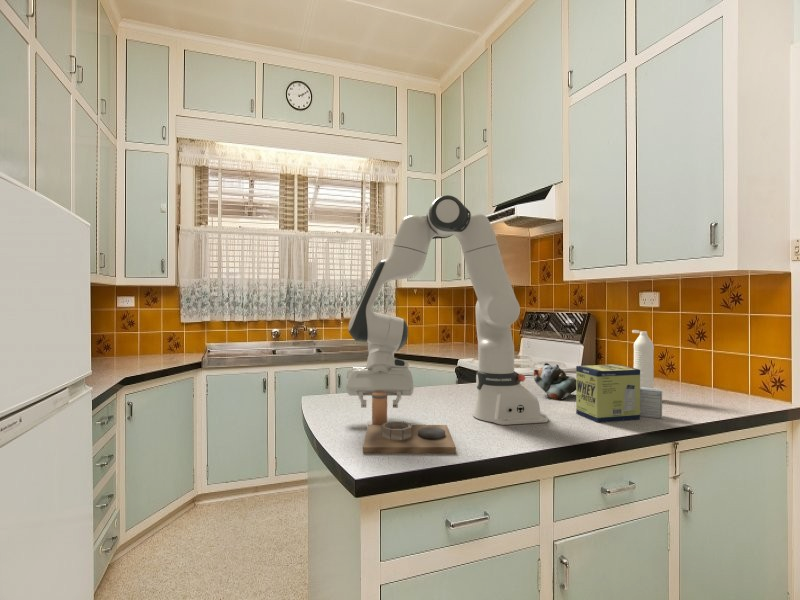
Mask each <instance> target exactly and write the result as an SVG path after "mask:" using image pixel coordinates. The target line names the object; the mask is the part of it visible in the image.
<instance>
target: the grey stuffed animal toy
mask: <svg viewBox="0 0 800 600" xmlns="http://www.w3.org/2000/svg"><path fill="white" fill-rule="evenodd" d="M543 364H544V365H543V366H541V367H540V369H534V370H533V381H534V383H536V385H537V386H538V387H540V389H542V391H544V393H546V394H547V395H548V397H549V398H551V399H552V400H558V401H562V400H563V399H565V398H567V397H569V396H570V395H571V394H573V393H574V392H576V377H574V376H571V375H567V373H566V372H565V371H564V370H563V369H561V368H560V365H559V364H556V363H555V364H554V365H551V364H549V363H547V362H545V363H543Z"/></svg>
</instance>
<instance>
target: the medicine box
mask: <svg viewBox="0 0 800 600" xmlns="http://www.w3.org/2000/svg"><path fill="white" fill-rule="evenodd" d="M640 417H644V418H655V419H663V391H662V389H661V388H659V387H653V388H649V387H640Z"/></svg>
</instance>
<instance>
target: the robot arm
mask: <svg viewBox="0 0 800 600" xmlns="http://www.w3.org/2000/svg"><path fill="white" fill-rule="evenodd" d="M452 236H454V237H456V238H457V239H458V241H459V243H460V245H461V246H460V247H461V249H462V254H463V257H464V262H465V266H466V269H467V272H468V277H469V280H470V282H471V284H472V287H473V290H474V292H475V295H476V298H477V300H476V302H475V303H476V304H475V309H474V310H475V326H476V327H475V328H476V338H477V366H478V367H477V370H476V376H475V380H476V381H475V382H476V383H475V385H476V390H477V391H476V398H475V404H474V410H473V412H472V416H473V417H474V418H476V419H478V420H481V421H485V422H488V423H489V422H491V423H493V424H494V423H495V424H497V425H502V426H505V425H508V426H509V425H522V424H537V423H538V424H539V423H547V422H549V416H548V415H547V414H546V413H545V412H544V411H542V410H541V407H540V402H539V400H538V398H537V397H536V395H535V394H534V393H532V392H531V391H530V390H528V388H526V387H525V386H524V385H522V384H521V382H522V383H523V382H525V381H526V379H527V378H526V376H525V375H524V374H522V373H521V374H520V373H519V372H517V371H515V344H514V339H513V335H512V333H513V332H512V327H511V325H513V324H514V323H516V321H517V320H518V318H519V316H520V313H521V307H520V303H519V301H518V299H517V297H516V295H515V292H514V289H513V286H512V284H511V281H510V279H509V277H508V275H507V271H506V269H505V266H504V262H503V258H502V254H501V250H500V248H499V244H498V243H499V242H498V240H497V239H498V238H497V237H496V234H495V231H494V228H493V226H492V224H491V222H490V220H489V218H488V217H487V216H486V215H484V214H482V213H473V214H472V213H471V211H470V210H469V208H467V207H466V206H465V205H464V204H463V202H462V201H460V200H459V199H458V198H457V197H455V196H453V195H449V194H448V195H441V196H438V197H437V198H436V199H434V200H433V201H432V203H431V204H430V206H429V209H428V212H427V213H426V214H425V215H421V216H420V215H417V214H410V215H406V216H405V217H404V218H403V219H401V222H400V225H399V227H398V229H397V232H396V235H395V237H394V240H393V244H392V247H391V248H392V249H391V251H390V253H389V254H388V256H387V257H386V258H385V259H382V260H379V261H378V263H377V264H376V266H375V268H374V269H373V271H372V273H371V276H370V277H369V280H368V282H367V284H366V285H365V286H366V287H365V288H364V291H363V293H362V296H361V298H360V299H359V302H358V304H357V307H356V309H355V310H354V312H353V314H352V316H351V318H350V319H349V322H348V330H347V331H348V333H349V335H350V336H351V337H352V339H353V340H355V342H361V343H368V344H367V351H368V356H367V358H366V359H367V360H366V367H352V368H350V369H348V370H347V372H346V379H347V383H346V389H345V390H346V393H347V394H348V396H351V397H352V396H353V397H354V396H356V397H358V400H359V401H360V407H361V408H363V409H365V408H367V404H368V403H367V402H368V401H367V399H364V397H365V396H370V397H372V393H374V392H386V393H387V397H388V396H389V397H391V396H394V397H395V396H396V398H395V399H392V409H395V408H399V403H400V401H401V399H402V397H403V396H406V397H407V396H409V397H410V396H412V395H413V394H414V379H413V374H412V372H411V370H410V367H409V361H407V360H402V359H400V358H398V357H395V353H396V352H398V351H400V350H401V349H402V348H403V347H404V346H405V345H406V343H407V342H408V338H409V337H408V336H409V326H408V324H407V322H406V320H405V319H404V318H401V317H398V316H394V315H391V314H385V313H381V312H375V311H373V309H372V308H373V306H374V305H375V302H376V300H377V298H378V295H379V292H380V290H381V288H383V285H384V284H386V283H388V282H392V281H396V280H404V279H409V278H413V277H414V276H417V275H418V274H420V273H421V271H422V270H423V268H424V266H425V263H426V261H427V257H428V256H427V255H428V251H429V247H430V245H431V241H432V240H435V239H437V240H438V239H447V238H450V237H452Z"/></svg>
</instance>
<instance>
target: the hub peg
mask: <svg viewBox="0 0 800 600" xmlns="http://www.w3.org/2000/svg"><path fill="white" fill-rule="evenodd" d="M387 422H388V396H387V393H386V392H374V393H372V396H371V425H372V424H373V425H382V424H383V423H387Z"/></svg>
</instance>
